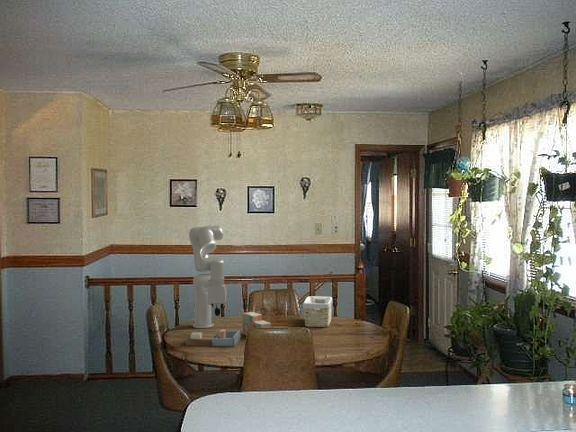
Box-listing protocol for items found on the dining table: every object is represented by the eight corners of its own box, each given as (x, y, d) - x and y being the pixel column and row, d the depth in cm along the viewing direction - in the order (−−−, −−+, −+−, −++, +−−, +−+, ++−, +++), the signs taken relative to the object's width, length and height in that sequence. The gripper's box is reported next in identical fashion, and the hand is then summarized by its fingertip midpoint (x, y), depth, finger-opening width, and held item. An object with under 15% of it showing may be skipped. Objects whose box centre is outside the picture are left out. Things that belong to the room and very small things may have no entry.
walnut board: (193, 337, 331) (193, 332, 331) (218, 338, 330) (218, 333, 330) (185, 345, 315) (185, 339, 315) (211, 345, 314) (211, 340, 314)
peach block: (221, 329, 327) (225, 329, 327) (221, 338, 327) (226, 338, 327) (219, 331, 322) (223, 331, 322) (219, 340, 322) (223, 340, 322)
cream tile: (193, 336, 322) (193, 332, 321) (202, 336, 321) (202, 332, 321) (190, 339, 317) (190, 334, 316) (199, 339, 316) (199, 334, 316)
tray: (219, 337, 331) (219, 329, 330) (241, 338, 329) (240, 329, 329) (211, 346, 313) (211, 336, 313) (234, 346, 311) (234, 337, 311)
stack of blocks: (271, 339, 326) (270, 317, 325) (261, 341, 322) (261, 318, 322) (252, 332, 344) (251, 311, 343) (242, 333, 340) (242, 312, 340)
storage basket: (329, 327, 353) (329, 303, 352) (302, 327, 356) (302, 302, 355) (332, 319, 377) (332, 296, 376) (307, 318, 379) (307, 295, 379)
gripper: (202, 283, 322) (202, 316, 323) (229, 283, 320) (229, 317, 321) (205, 280, 329) (206, 313, 330) (232, 281, 327) (232, 314, 329)
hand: (217, 315), depth 326 cm, fingers closed
